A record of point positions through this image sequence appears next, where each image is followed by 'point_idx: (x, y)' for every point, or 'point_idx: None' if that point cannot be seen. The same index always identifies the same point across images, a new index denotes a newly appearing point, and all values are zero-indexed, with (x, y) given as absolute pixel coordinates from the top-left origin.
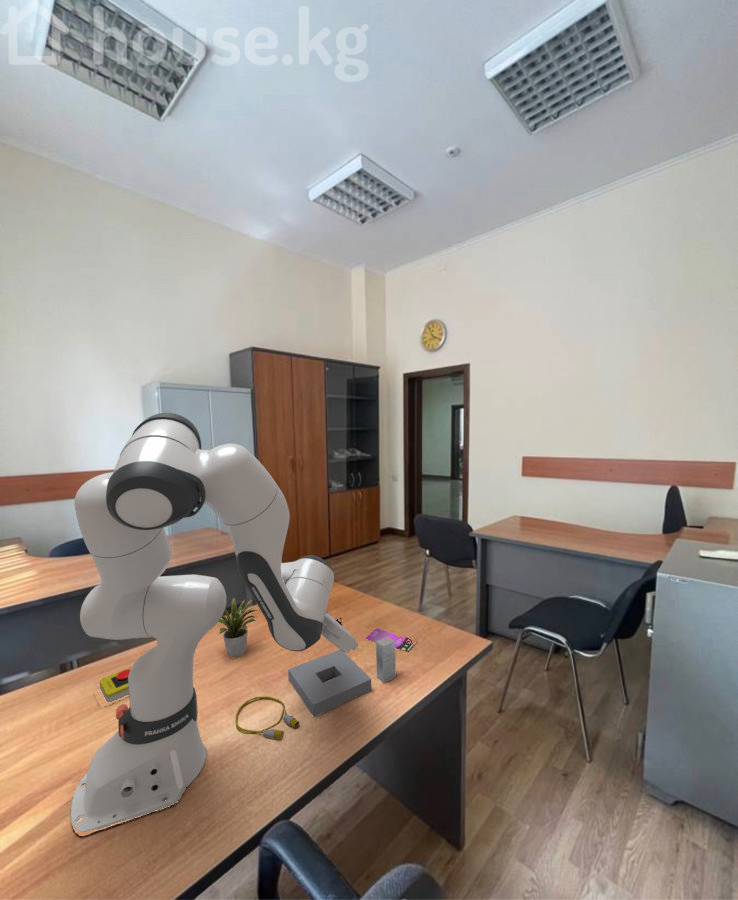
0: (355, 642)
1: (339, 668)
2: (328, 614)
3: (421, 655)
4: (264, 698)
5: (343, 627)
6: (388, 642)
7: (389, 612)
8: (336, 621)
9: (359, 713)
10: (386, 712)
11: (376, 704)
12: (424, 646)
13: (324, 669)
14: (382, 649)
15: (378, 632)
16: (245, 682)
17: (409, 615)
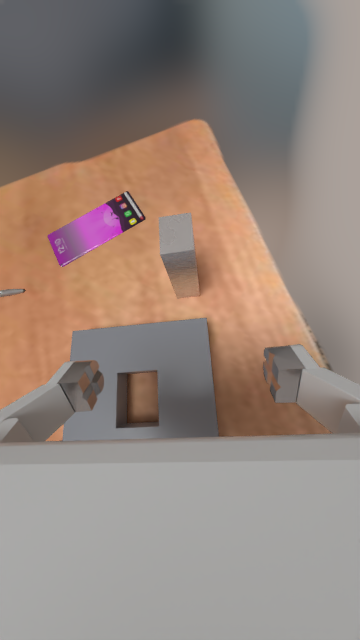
0: (311, 358)
1: (133, 365)
2: (18, 524)
3: (166, 204)
4: None
5: (353, 461)
6: (185, 228)
7: (21, 195)
8: (212, 495)
9: (257, 376)
10: (278, 327)
11: (248, 334)
12: (147, 189)
13: (115, 400)
14: (194, 255)
15: (60, 237)
16: None
17: (54, 171)
